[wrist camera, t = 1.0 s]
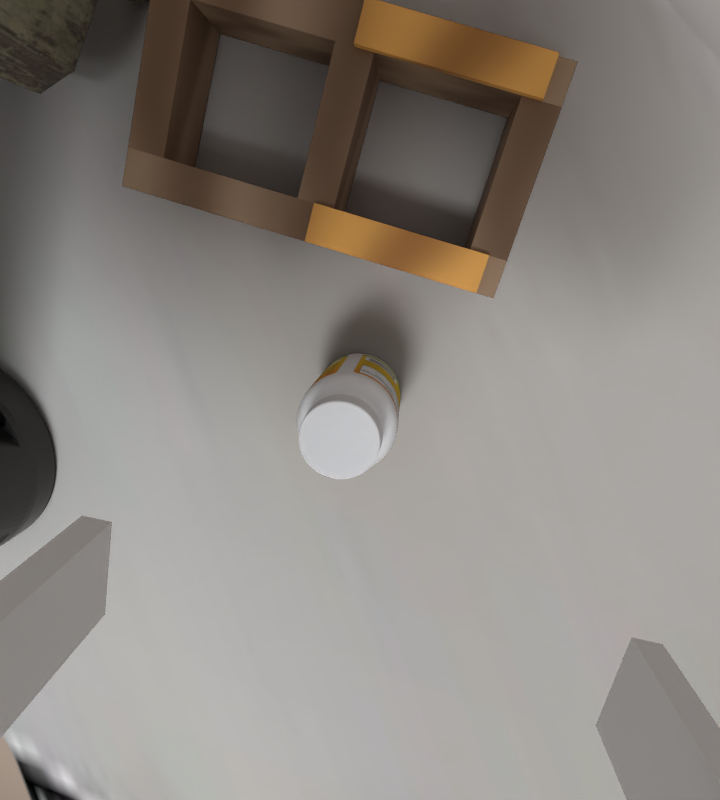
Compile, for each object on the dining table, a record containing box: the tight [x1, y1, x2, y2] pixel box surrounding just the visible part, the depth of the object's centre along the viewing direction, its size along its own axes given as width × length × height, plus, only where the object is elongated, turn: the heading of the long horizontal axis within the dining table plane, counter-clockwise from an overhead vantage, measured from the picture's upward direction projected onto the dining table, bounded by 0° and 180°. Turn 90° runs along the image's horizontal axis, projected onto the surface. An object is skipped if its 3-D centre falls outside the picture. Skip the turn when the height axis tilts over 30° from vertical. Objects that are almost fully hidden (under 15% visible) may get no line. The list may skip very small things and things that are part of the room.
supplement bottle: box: [297, 353, 400, 479], centre depth 29 cm, size 5×5×10 cm
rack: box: [122, 0, 577, 298], centre depth 28 cm, size 21×12×4 cm, turn 74°
